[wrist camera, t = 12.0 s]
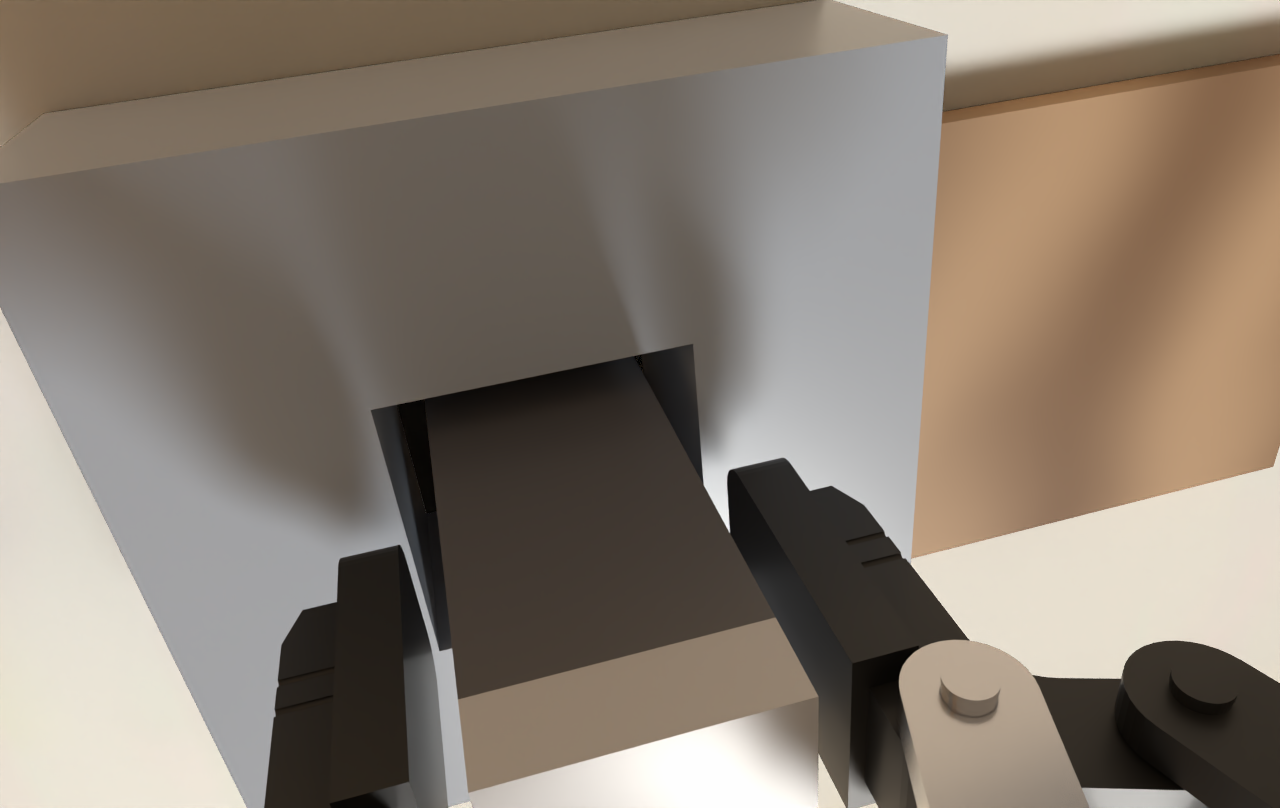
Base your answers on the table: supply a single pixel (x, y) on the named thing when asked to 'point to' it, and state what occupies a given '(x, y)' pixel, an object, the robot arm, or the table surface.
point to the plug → (606, 609)
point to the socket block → (466, 296)
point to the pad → (1101, 300)
